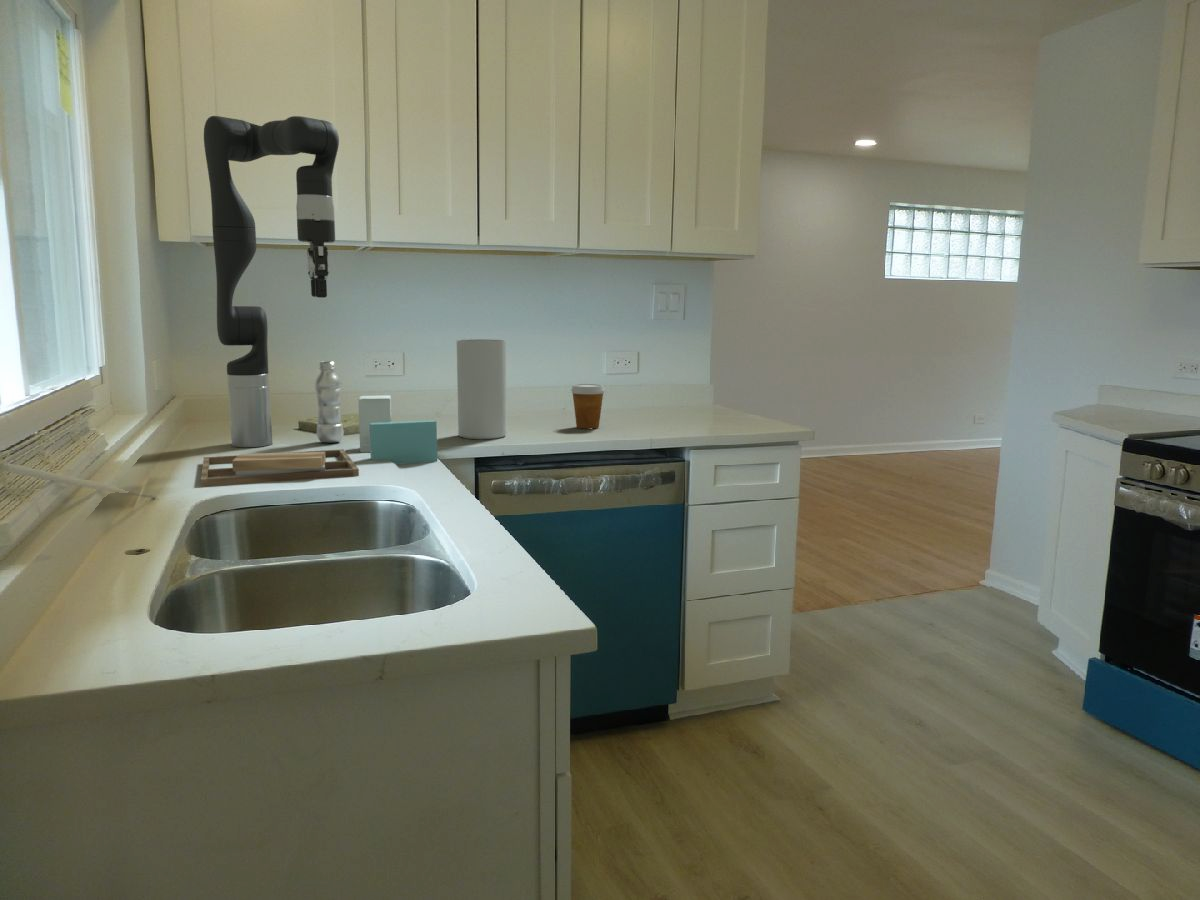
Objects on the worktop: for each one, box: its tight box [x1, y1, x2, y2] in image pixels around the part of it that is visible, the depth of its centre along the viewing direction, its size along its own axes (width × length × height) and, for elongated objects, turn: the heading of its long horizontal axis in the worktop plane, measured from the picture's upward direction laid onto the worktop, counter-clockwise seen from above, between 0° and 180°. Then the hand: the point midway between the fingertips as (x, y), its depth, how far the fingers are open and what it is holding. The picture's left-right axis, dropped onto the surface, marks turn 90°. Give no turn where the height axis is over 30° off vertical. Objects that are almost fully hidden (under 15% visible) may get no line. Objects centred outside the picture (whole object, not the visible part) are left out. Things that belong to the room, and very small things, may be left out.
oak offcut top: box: [231, 451, 327, 471], centre depth 166 cm, size 7×16×2 cm, turn 102°
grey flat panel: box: [235, 464, 326, 476], centre depth 166 cm, size 7×16×2 cm, turn 110°
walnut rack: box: [200, 448, 360, 488], centre depth 172 cm, size 24×28×2 cm
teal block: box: [369, 419, 438, 465], centre depth 187 cm, size 2×14×9 cm, turn 113°
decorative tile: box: [297, 413, 360, 437], centre depth 236 cm, size 18×20×4 cm
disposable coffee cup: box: [570, 383, 606, 429], centre depth 241 cm, size 10×10×12 cm
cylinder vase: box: [456, 338, 507, 440], centre depth 223 cm, size 12×12×25 cm
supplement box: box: [357, 394, 393, 453], centre depth 202 cm, size 7×7×13 cm
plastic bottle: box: [314, 360, 344, 444], centre depth 211 cm, size 6×7×20 cm
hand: (319, 297), depth 182 cm, fingers open, 8 cm apart
